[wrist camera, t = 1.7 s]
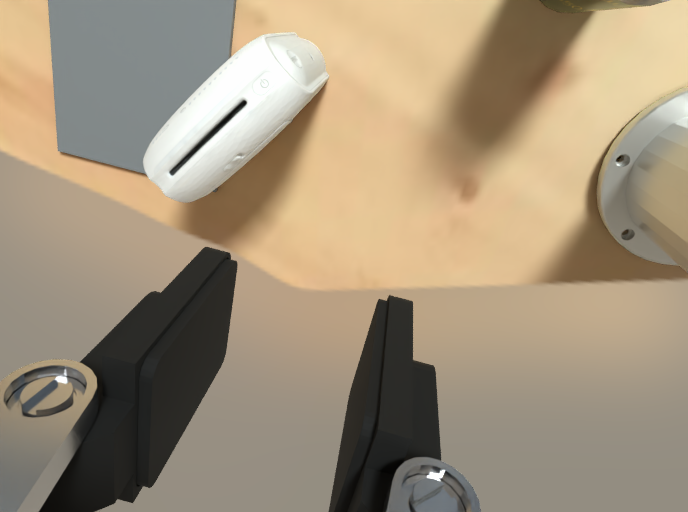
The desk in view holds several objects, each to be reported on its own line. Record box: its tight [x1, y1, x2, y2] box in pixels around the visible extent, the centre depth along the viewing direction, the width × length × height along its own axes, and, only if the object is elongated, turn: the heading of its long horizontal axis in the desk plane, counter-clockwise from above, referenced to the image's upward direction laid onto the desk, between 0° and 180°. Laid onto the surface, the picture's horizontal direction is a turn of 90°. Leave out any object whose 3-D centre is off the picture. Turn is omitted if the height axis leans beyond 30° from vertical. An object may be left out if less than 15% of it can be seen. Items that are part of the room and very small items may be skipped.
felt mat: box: [48, 0, 236, 192], centre depth 33 cm, size 13×16×1 cm
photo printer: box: [143, 32, 329, 203], centre depth 28 cm, size 10×4×12 cm, turn 130°
